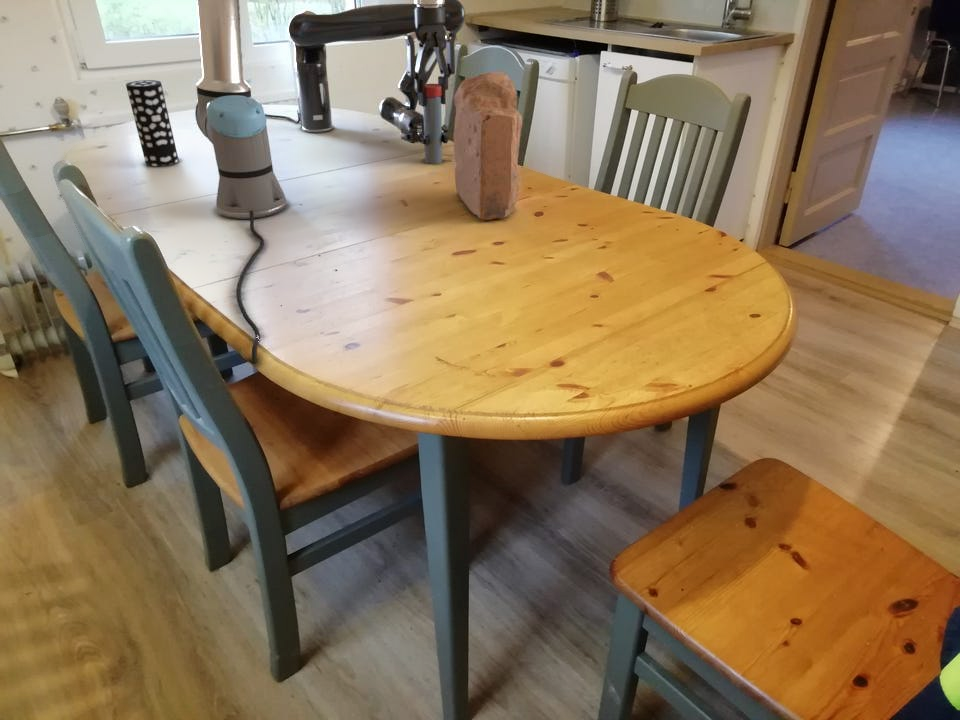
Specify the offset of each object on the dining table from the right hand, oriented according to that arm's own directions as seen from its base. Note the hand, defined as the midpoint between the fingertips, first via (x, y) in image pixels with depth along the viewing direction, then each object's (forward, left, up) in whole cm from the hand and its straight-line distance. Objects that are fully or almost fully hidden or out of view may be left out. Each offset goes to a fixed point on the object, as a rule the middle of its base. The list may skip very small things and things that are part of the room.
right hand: (436, 140), depth 184 cm
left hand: (-2, +1, +9) cm, 9 cm away
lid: (-2, +1, +13) cm, 13 cm away
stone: (+31, -15, -6) cm, 35 cm away
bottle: (-2, +1, -6) cm, 7 cm away
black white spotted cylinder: (-56, -49, +4) cm, 74 cm away
